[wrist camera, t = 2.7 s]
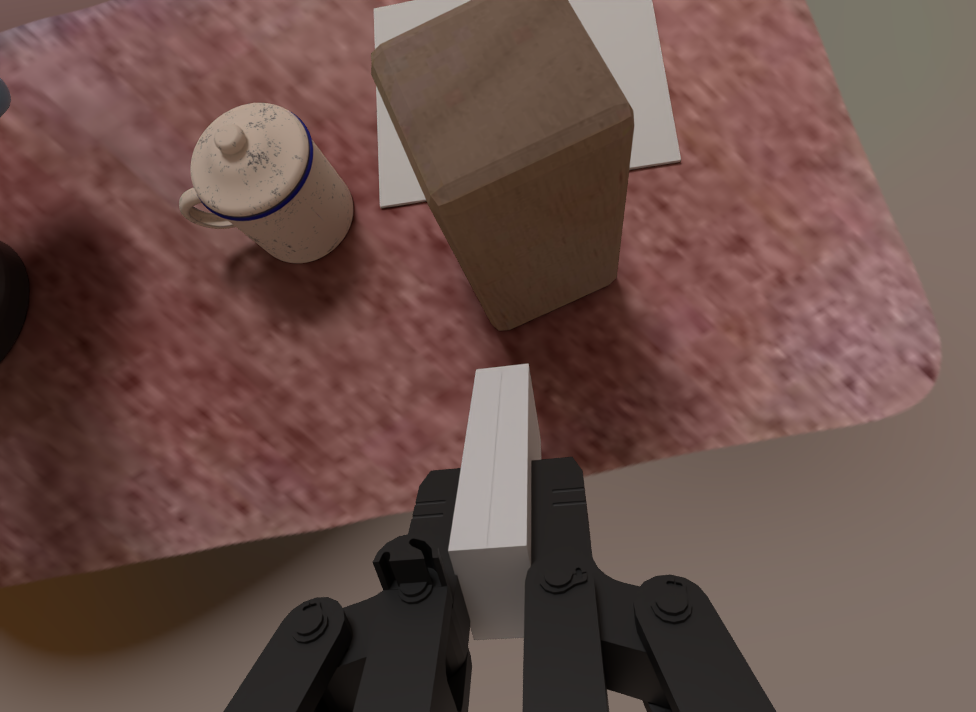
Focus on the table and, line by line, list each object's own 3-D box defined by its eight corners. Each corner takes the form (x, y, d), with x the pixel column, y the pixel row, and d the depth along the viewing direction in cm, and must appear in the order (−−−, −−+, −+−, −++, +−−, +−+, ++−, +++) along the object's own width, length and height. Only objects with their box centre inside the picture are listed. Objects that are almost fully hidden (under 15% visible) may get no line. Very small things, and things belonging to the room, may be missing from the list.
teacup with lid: (347, 155, 51) (279, 57, 40) (367, 249, 48) (300, 171, 37) (219, 197, 52) (118, 113, 41) (231, 291, 50) (128, 228, 38)
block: (621, 283, 44) (645, 112, 25) (498, 339, 45) (430, 213, 26) (565, 177, 47) (548, -49, 28) (450, 230, 48) (357, 44, 28)
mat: (381, 208, 49) (380, 206, 49) (375, 11, 54) (373, 8, 54) (680, 162, 46) (680, 159, 45) (643, -44, 51) (643, -47, 51)
